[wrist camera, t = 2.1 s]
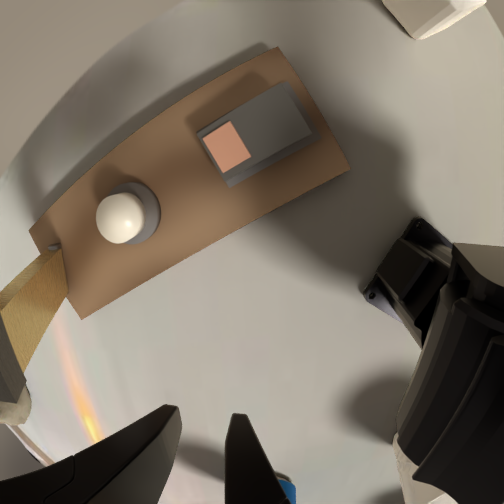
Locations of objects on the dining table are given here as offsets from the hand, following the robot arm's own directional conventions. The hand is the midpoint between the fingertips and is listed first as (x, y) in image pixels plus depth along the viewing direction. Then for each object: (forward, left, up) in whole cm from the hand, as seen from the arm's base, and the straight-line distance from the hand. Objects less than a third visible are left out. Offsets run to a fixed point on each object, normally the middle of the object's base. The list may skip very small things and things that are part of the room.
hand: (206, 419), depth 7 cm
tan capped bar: (+11, +6, -10) cm, 16 cm away
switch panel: (+7, -2, -12) cm, 14 cm away
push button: (+8, 0, -10) cm, 12 cm away
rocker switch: (+3, -8, -10) cm, 13 cm away
